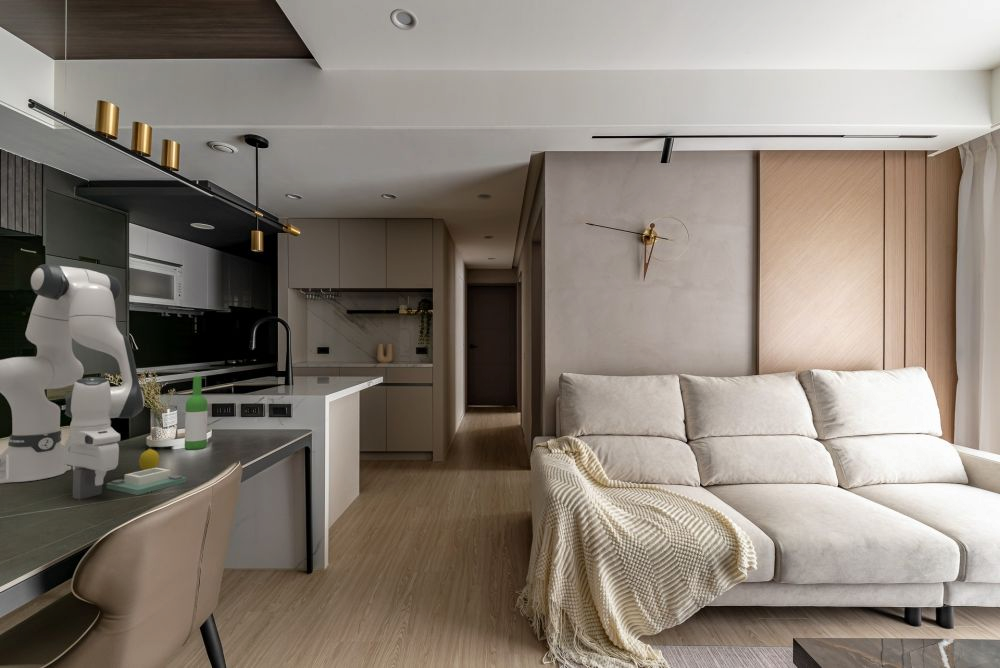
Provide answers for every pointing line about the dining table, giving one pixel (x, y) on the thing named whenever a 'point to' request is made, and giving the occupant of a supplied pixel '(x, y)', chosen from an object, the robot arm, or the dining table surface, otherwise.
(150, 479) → the header board
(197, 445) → the wine bottle
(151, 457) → the lemon
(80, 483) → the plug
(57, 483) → the dining table surface
